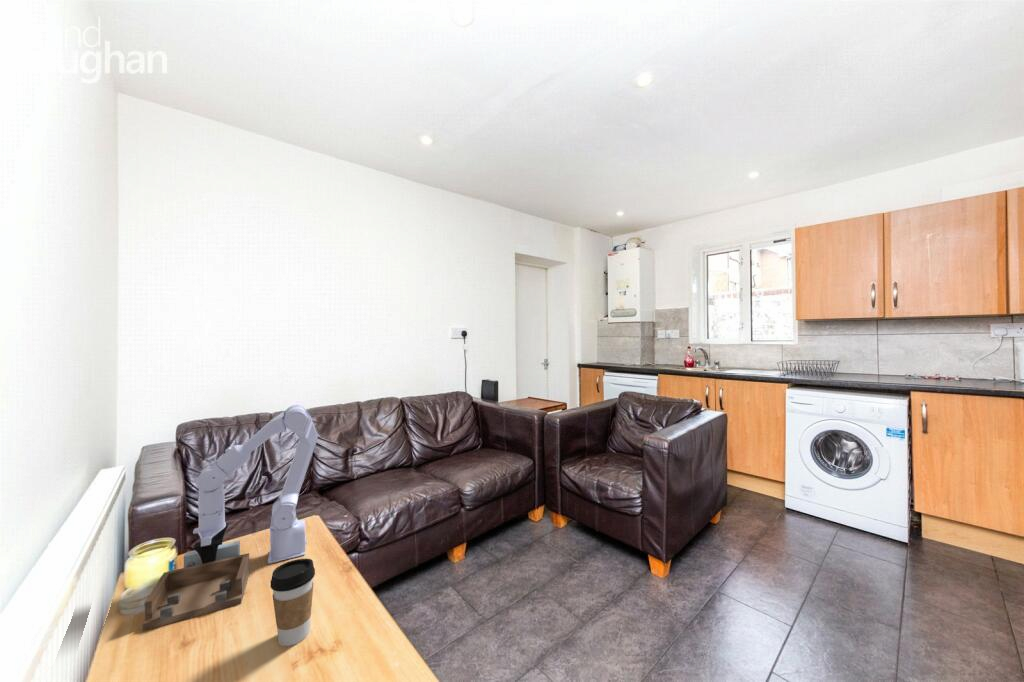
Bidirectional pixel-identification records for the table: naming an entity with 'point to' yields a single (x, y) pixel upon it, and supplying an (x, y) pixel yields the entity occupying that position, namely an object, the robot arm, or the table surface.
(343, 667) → the table surface
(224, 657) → the table surface
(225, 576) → the cabinet
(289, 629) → the coffee cup
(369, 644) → the table surface
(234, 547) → the door
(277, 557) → the robot arm
